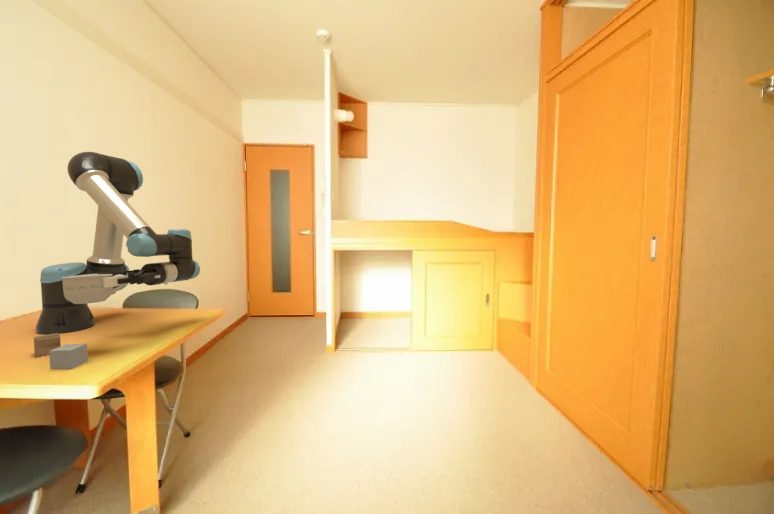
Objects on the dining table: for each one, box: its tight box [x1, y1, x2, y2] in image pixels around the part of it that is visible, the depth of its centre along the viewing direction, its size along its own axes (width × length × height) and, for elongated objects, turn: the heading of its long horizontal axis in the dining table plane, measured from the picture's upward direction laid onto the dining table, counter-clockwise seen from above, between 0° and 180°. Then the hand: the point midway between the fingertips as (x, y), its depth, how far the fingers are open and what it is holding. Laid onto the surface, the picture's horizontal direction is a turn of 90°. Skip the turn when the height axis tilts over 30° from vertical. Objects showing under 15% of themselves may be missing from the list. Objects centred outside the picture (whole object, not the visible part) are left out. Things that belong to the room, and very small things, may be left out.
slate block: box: [49, 343, 89, 370], centre depth 85 cm, size 5×5×5 cm
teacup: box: [62, 274, 125, 304], centre depth 93 cm, size 14×11×8 cm
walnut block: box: [33, 333, 62, 359], centre depth 93 cm, size 5×5×5 cm
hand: (88, 281), depth 92 cm, fingers closed on teacup, 11 cm apart
